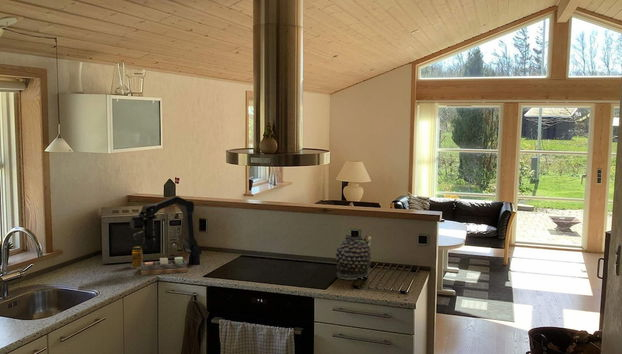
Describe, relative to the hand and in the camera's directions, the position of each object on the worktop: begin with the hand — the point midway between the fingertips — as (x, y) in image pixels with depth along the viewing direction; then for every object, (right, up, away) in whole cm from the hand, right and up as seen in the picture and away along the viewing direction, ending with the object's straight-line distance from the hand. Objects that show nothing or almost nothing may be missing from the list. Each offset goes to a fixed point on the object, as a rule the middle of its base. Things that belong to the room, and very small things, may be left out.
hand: (149, 253), depth 340 cm
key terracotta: (0, -9, +1) cm, 9 cm away
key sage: (+16, -7, +6) cm, 18 cm away
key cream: (+8, -7, +3) cm, 11 cm away
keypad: (+8, -11, +4) cm, 14 cm away
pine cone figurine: (+118, -13, -6) cm, 119 cm away
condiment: (-10, -10, +13) cm, 19 cm away
